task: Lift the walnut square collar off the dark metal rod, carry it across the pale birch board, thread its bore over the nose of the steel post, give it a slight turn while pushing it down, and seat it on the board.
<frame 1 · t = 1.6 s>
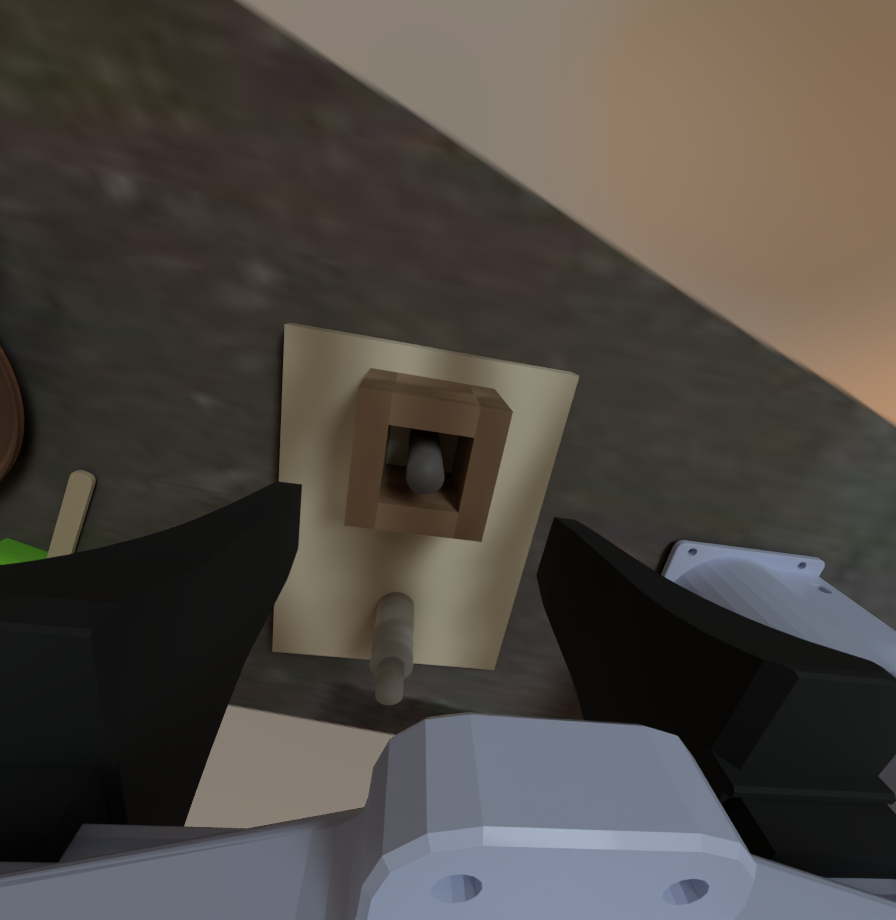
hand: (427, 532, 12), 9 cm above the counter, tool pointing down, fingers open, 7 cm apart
collar: (424, 437, 20), point 1 cm above the counter, touching fitting board
fitting board: (409, 519, 22), on the counter
popsicle: (66, 575, 23), on the counter
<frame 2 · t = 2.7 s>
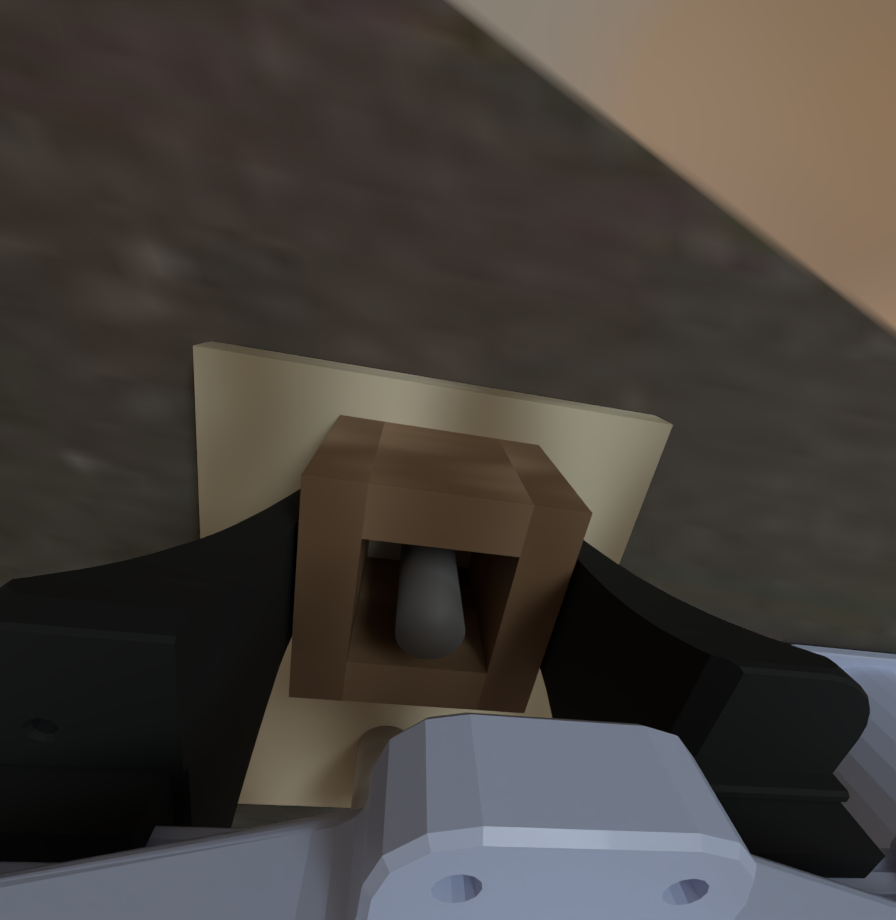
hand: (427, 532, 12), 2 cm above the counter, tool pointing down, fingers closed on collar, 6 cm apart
collar: (426, 518, 13), point 1 cm above the counter, touching fitting board, gripper
fitting board: (404, 623, 15), on the counter
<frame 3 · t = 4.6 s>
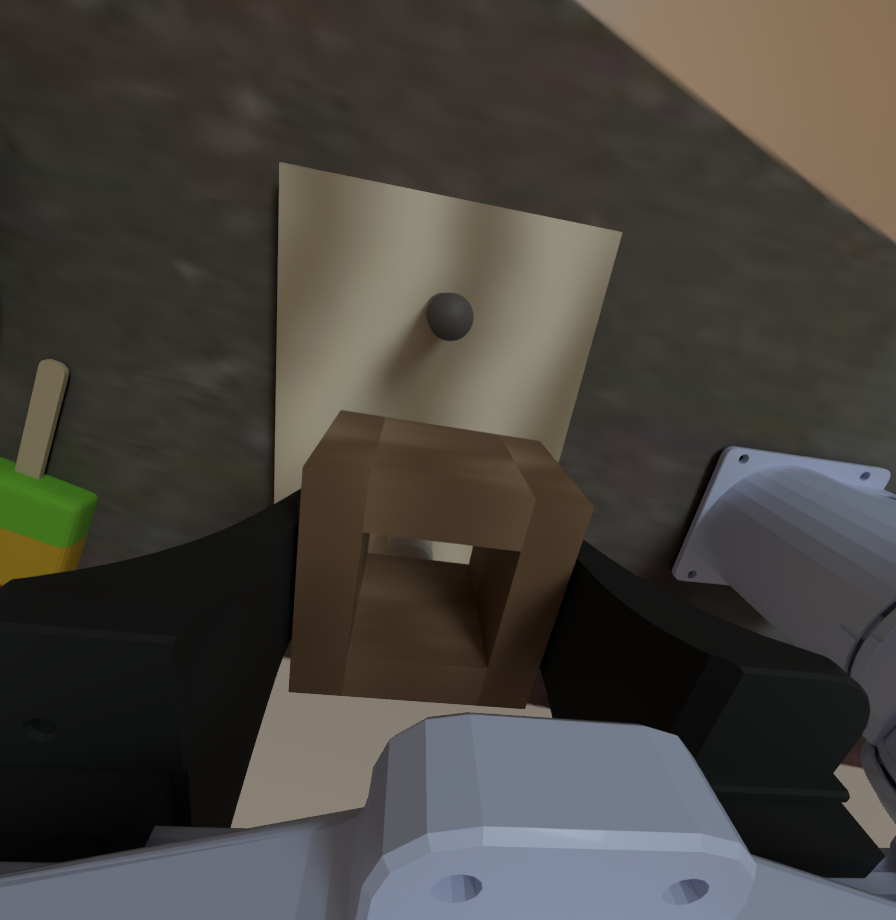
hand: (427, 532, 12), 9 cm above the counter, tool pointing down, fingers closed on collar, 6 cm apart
collar: (427, 514, 13), point 8 cm above the counter, touching gripper
fitting board: (424, 421, 20), on the counter
popsicle: (40, 494, 21), on the counter
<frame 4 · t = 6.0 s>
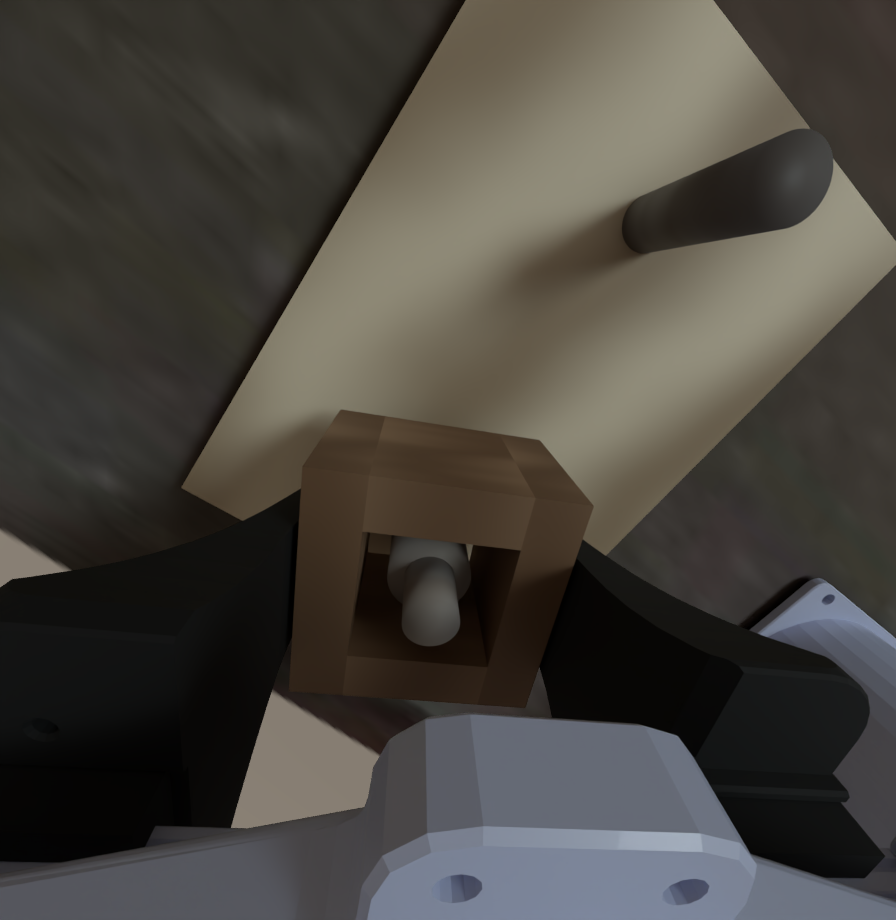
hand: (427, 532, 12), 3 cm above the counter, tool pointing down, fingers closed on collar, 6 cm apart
collar: (427, 513, 13), point 2 cm above the counter, touching gripper
fitting board: (518, 371, 13), on the counter
when the fingers open (3 cm above the counter, at t = 6.6 s): collar stays where it is, resting on fitting board.
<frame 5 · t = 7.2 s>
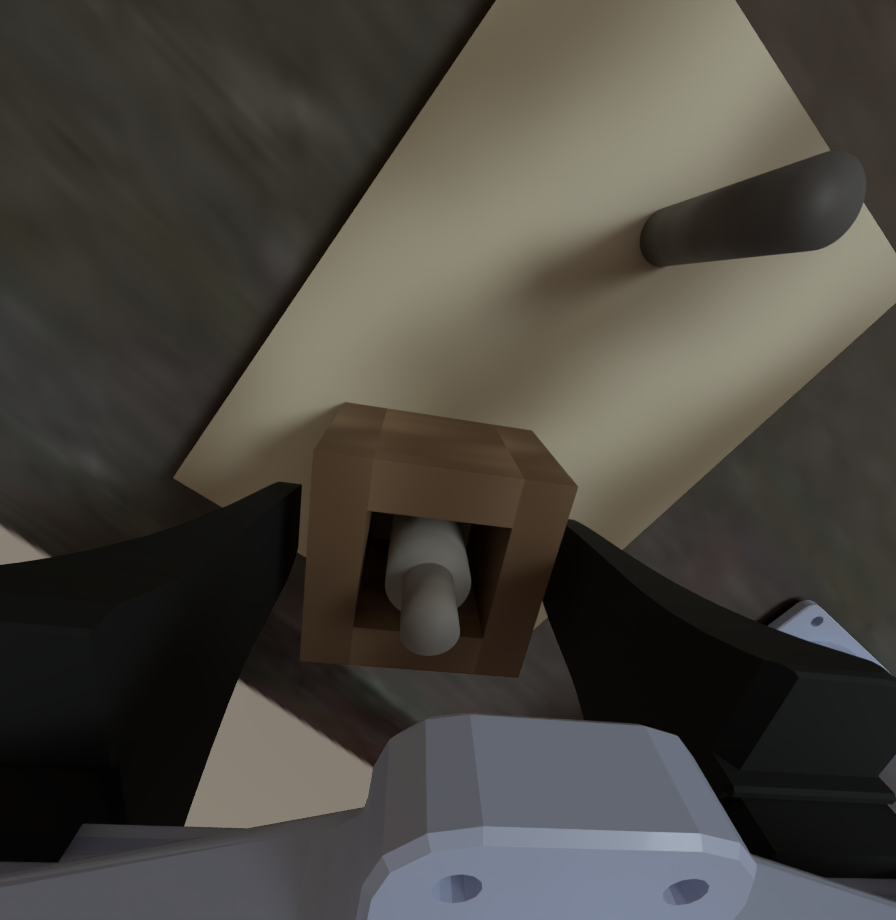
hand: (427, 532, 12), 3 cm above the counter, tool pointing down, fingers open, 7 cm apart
collar: (426, 500, 13), point 1 cm above the counter, touching fitting board
fitting board: (525, 377, 13), on the counter
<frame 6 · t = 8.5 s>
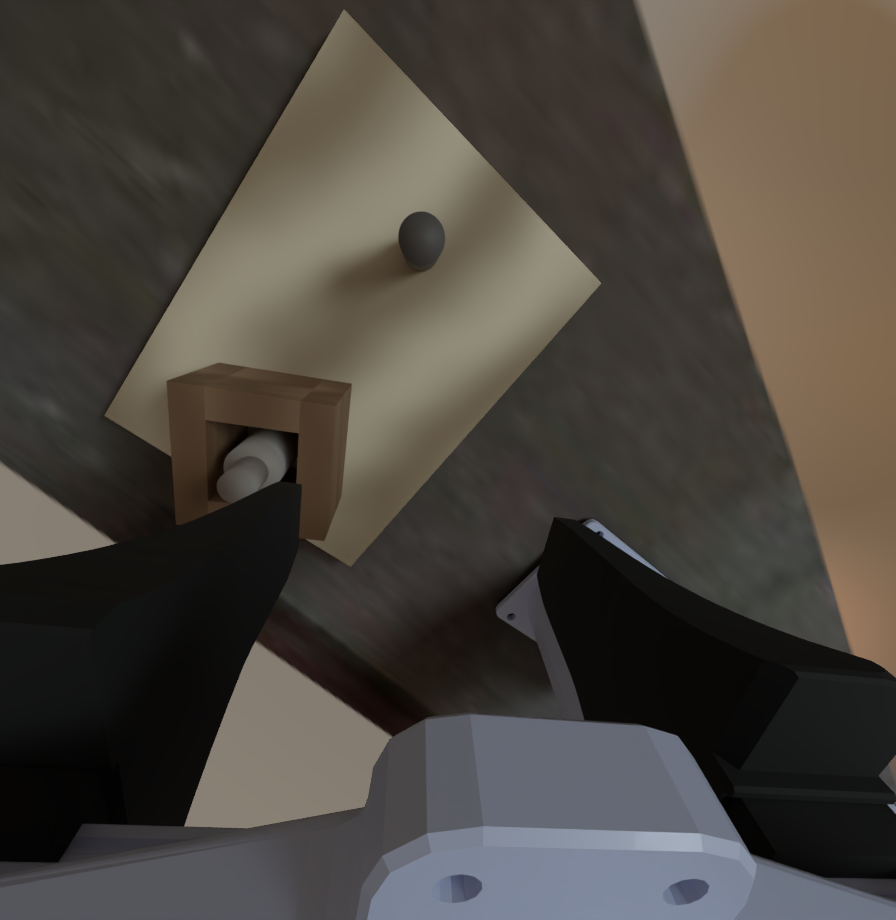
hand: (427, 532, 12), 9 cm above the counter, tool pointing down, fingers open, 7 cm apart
collar: (284, 434, 19), point 1 cm above the counter, touching fitting board
fitting board: (351, 347, 19), on the counter
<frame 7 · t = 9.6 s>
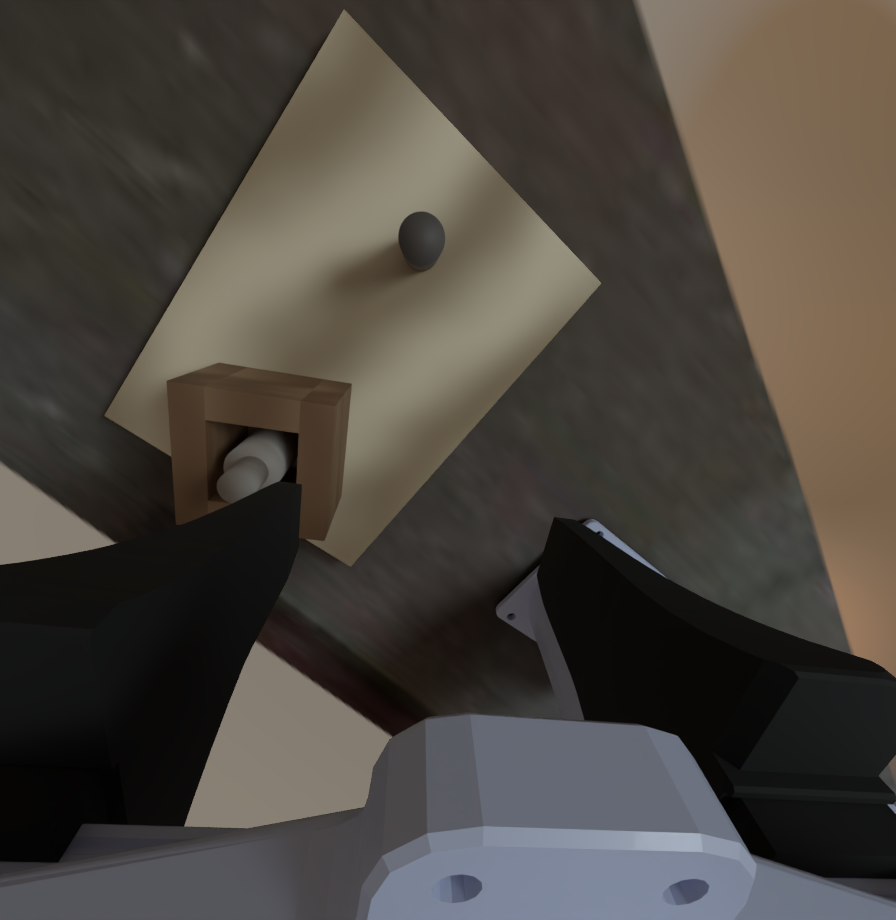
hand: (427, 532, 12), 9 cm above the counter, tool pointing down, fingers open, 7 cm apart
collar: (284, 434, 19), point 1 cm above the counter, touching fitting board
fitting board: (351, 347, 19), on the counter
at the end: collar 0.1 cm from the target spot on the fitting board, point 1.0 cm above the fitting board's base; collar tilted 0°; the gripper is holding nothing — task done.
